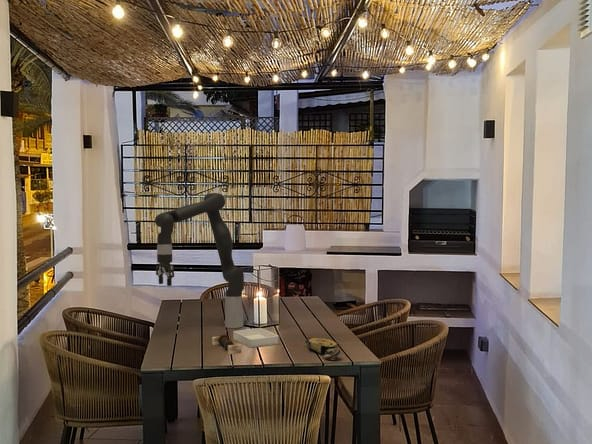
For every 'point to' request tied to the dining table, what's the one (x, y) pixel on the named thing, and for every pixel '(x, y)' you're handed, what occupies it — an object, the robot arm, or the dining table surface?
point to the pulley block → (324, 347)
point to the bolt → (225, 341)
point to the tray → (256, 337)
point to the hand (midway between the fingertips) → (165, 284)
